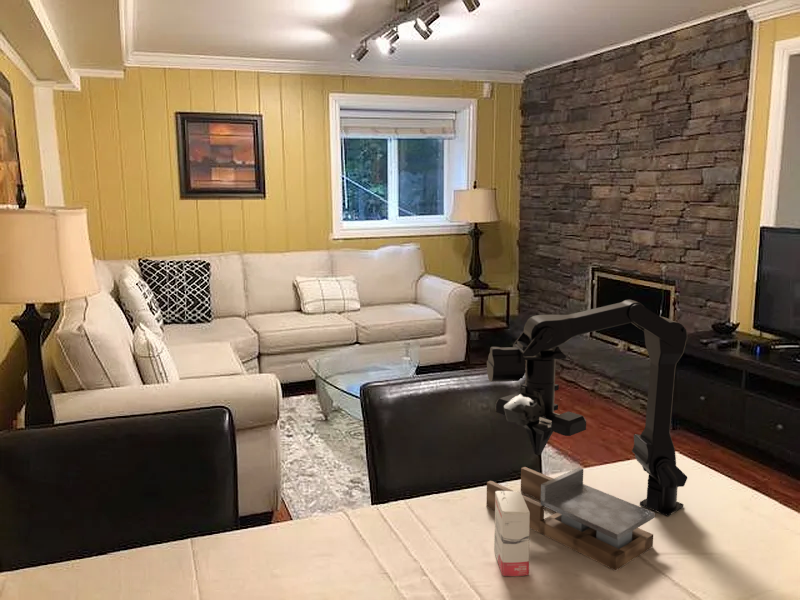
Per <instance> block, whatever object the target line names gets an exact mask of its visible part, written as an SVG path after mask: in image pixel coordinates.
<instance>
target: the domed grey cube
mask: <svg viewBox="0 0 800 600" xmlns="http://www.w3.org/2000/svg"><path fill="white" fill-rule="evenodd" d="M596 539H599V540H601V541H603V542H605V543H607V544H609V545H611V546H613V547H616V548H618V549H620V548H622V547H623V546H625V545H627V544H628V543H630V542H632V531H631V532H630V533H628V534H626V535H625V536H623V537H621V538H620V539H618V540H616V539H614V538H612V537H610V536H608V535H605V534H603V533H601V532H599V531H597V533H596Z"/></svg>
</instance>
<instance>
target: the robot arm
mask: <svg viewBox="0 0 800 600" xmlns="http://www.w3.org/2000/svg"><path fill="white" fill-rule="evenodd" d="M628 324H632V325H634V326H635V327H637V328H638V329H639V330H642V331H643V333H644V343H645V348H646V351H647V355H648V357H649V361H650V362H649V363H650V364H649V374H648V375H649V376H648V377H649V378H648V389H647V399H646V401H647V403H646V413H645V425H644V426H645V427H644V429H643V431H642V432H641V433H640V434H638V433H637V434H636V433H635V434H633V448H632V450H631V452H632V453H633V454H634V458H635V460H636V461H637V462H638V464H640V465H641V467H642V470H643V471H644V472H646V473H647V474H648V478H647V487H646V498H645V499H642V500H640V501H639V505H640V506H642V507H643V508H646V509H648V510H649V509H650V510H652V511H653V512H657V513H659V514H662V515H664V516H670V515H672V514H674V513H676V512H677V511H679V510H680V509H682V508H684V504H683V503H682V502H680V501H677V500H678V488H680V487H681V488H682V487H685V484H686V482H687V480H688V476H687V475H686V474H685V473H684V472H683V471H682V470H681V469H680V468H679V467H678V466H677V458H676V457H677V456H676V447H675V445H674V442H673V439H672V436H671V421H672V411H673V401H674V400H673V398H674V388H675V377H676V376H675V375H676V367H677V363H679V361H680V359H681V358H682V356H683V355H684V352H685V349H686V344H687V341H688V331H687V329H686V327H685V326H684V325H683V324H681V323H679V322H677V321H675V320H672V319H671V318H667V317H664V316H660V315H658V314H657V313H655V312H653V311H651V310H650V309H648V307H645V305H643V304H642V303H641V302H638V301H636V300H632V299H625V300H623V301H621V302H617V303H613V304H608V305H603V306H601V307H596V308H591V309H587V310H584V311H583V310H582V311H579V312H574V313H571V314H539V315H538V314H537V315H533V316H531V317H529V318H528V319H527V320H526V322H525V323H524V325H523V326H524V327H523V331H522V332H521V333H520V335H519V336H518V338H517V339H516V340H515V341H514V343H513V345H512V347H500V346H491V347H490V349H489V354H488V357H487V360H486V373H487V378H488V381H489V382H490V383H498V382H520V380H522V379H524V376H525V383H523V384H521V385H520V388H519V393H518V394H514V393H512V394H509V395H506V396H503V397H500V398H498V399H497V400H496V402H495V412H496V413H498V414H501V415H504V416H505V419H506V421H507V422H508V423H513V424H516V425H518V426H520V427H523V428H524V429H525V431H526V433H527V436H528V438H529V442H530V444H531V447H532V450H533V453H534V455H535V456H541V455H542V453H543V451H544V450H545V448H546V445H547V444H548V441H549V439H550V438H551V436H552V435H553V433H556V434H559V435H561V436H565V437H571V436H574V435H575V434H578V433H582V432H583V431H586V430H587V419H586V417H584V415H582V414H578V413H575V412H572V411H566V412H562V413H556V412H555V411H558V410H559V404H557V403H555V393H556V391H560V390H559V387H560V384H558V383H556V360H566V359H567V357H568V356H567V355H566V354H565V353H564V352H563V351H562V350H561V348H560V346H561V345H563V344H565V343H567V342H568V341H569V340H571V339H573V338H575V337H577V336H581V335H585V334H589V333H592V332H593V333H594V332H596V331H601V330H606V329H611V328H615V327H618V326H619V327H620V326H623V325H628Z"/></svg>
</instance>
